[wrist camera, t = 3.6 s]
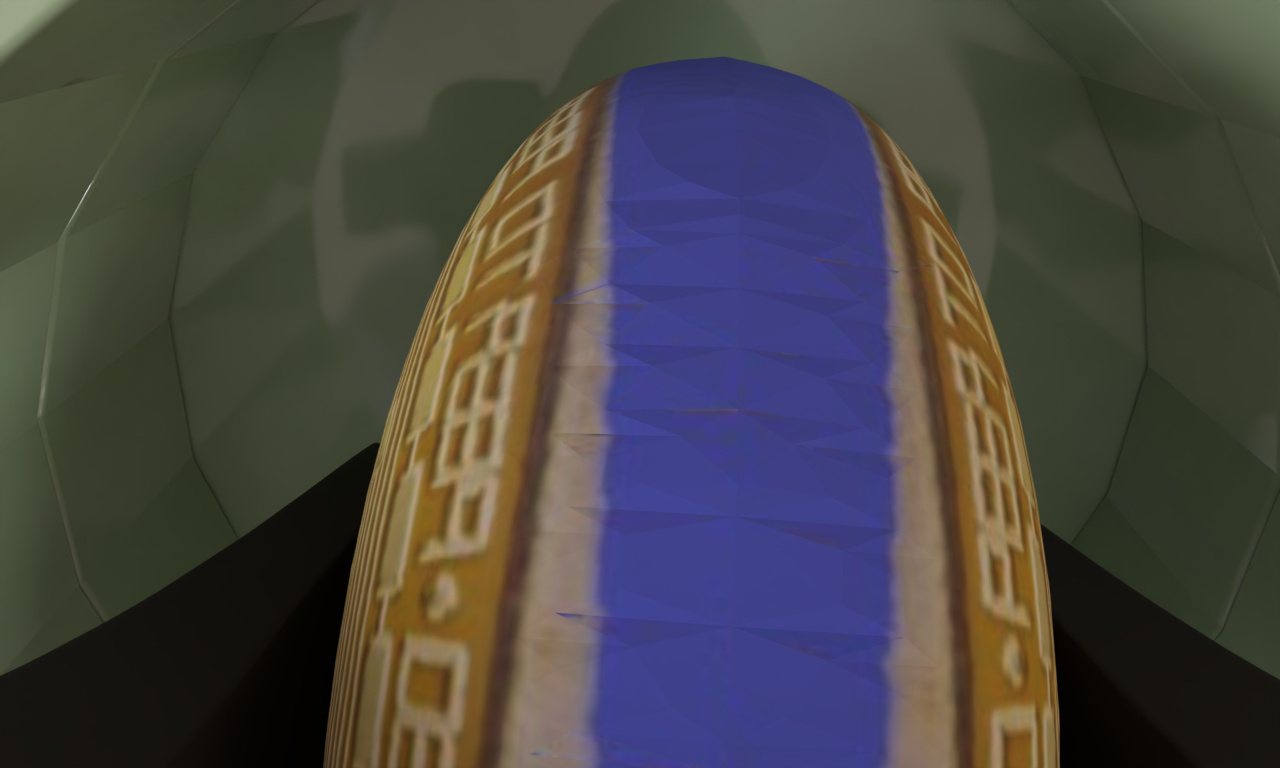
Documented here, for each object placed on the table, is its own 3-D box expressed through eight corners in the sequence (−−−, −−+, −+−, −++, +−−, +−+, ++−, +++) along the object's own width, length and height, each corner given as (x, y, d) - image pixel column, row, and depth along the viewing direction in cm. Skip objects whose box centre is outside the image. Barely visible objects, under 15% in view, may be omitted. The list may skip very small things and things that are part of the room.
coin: (922, 637, 14) (1393, 1814, 5) (561, 712, 15) (442, 1870, 6) (798, -33, 10) (1868, 163, 1) (313, 109, 11) (-1169, 885, 2)
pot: (212, 758, 16) (-11, 1187, 10) (14, -243, 10) (-778, -468, 4) (1046, 790, 16) (1251, 1222, 11) (1362, -162, 10) (2216, -283, 5)
